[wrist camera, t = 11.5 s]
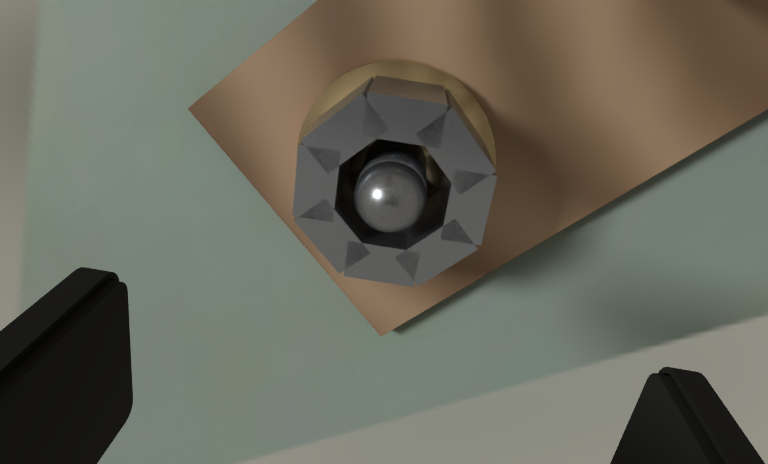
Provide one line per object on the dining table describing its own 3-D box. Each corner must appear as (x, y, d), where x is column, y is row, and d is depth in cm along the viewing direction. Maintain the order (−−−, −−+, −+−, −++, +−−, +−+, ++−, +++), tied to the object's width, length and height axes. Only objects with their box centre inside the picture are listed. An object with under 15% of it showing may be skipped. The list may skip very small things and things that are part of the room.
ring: (322, 66, 22) (303, 82, 19) (497, 94, 22) (511, 115, 19) (307, 227, 25) (287, 267, 21) (461, 251, 25) (469, 296, 21)
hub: (420, 14, 22) (419, 23, 16) (530, 181, 24) (562, 238, 19) (261, 136, 24) (213, 180, 19) (376, 277, 27) (364, 354, 21)
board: (781, -382, 18) (944, -550, 12) (921, 4, 22) (1091, 10, 16) (196, 104, 25) (132, 136, 19) (382, 325, 29) (373, 404, 23)
